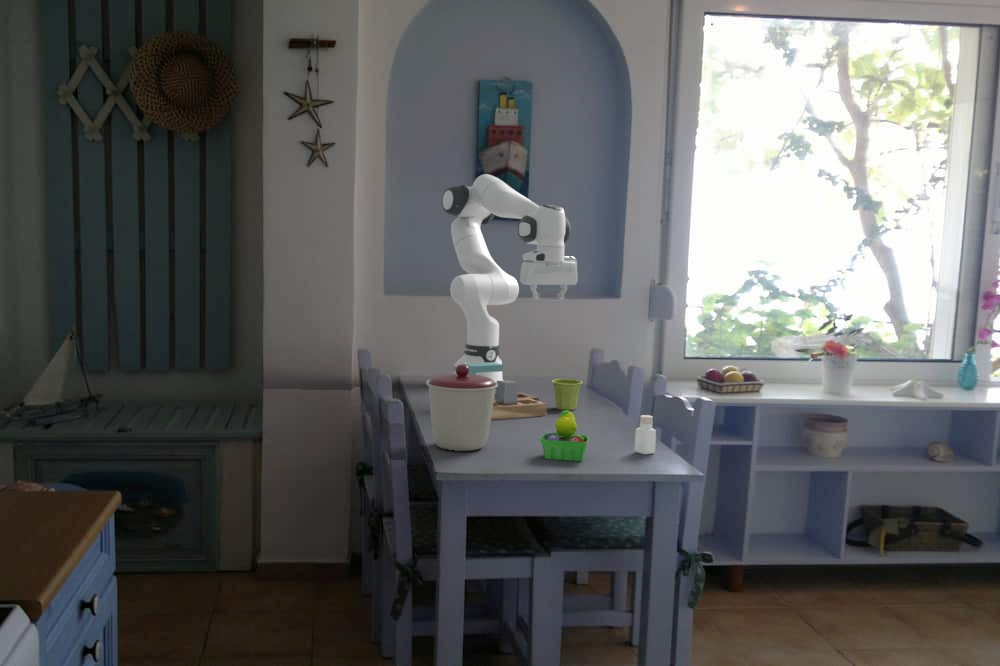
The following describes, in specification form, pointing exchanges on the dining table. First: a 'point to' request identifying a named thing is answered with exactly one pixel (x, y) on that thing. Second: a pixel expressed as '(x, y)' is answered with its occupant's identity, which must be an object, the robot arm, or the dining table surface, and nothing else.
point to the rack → (519, 409)
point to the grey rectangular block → (507, 392)
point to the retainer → (484, 367)
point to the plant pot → (566, 393)
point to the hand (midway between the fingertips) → (548, 299)
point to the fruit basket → (564, 440)
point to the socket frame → (524, 396)
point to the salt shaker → (645, 436)
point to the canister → (461, 409)
